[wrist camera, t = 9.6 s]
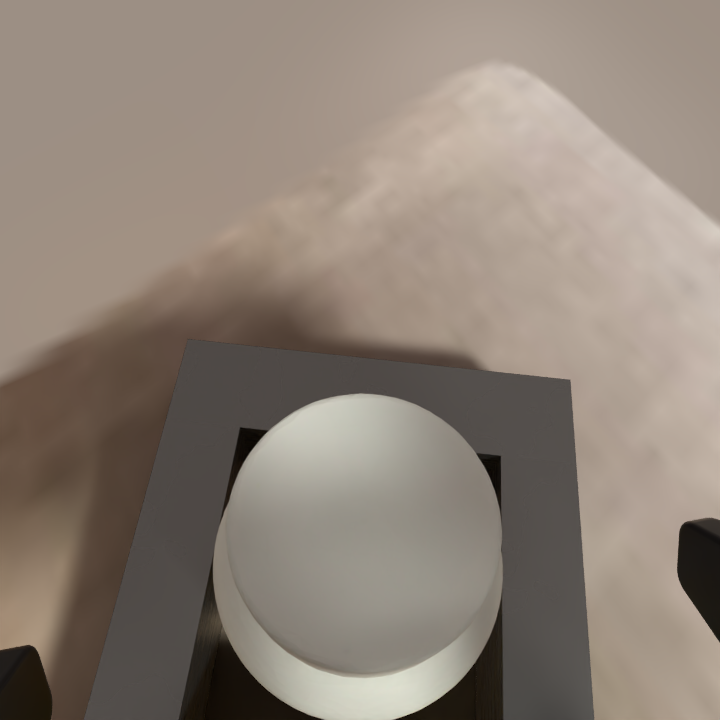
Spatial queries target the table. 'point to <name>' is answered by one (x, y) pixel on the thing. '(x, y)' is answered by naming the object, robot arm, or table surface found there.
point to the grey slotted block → (219, 472)
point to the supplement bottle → (359, 559)
